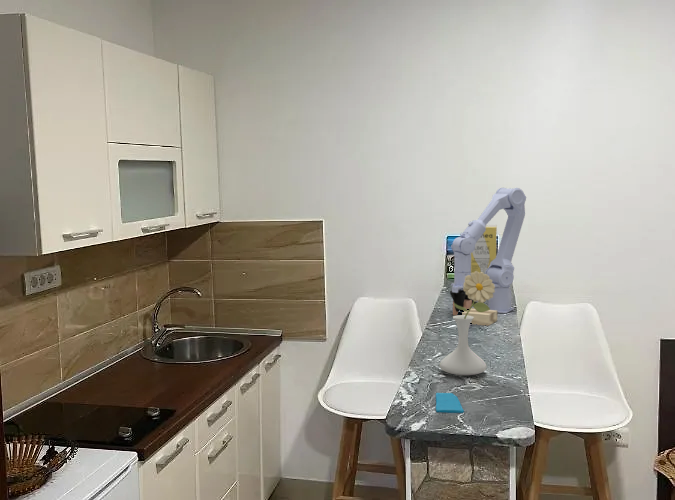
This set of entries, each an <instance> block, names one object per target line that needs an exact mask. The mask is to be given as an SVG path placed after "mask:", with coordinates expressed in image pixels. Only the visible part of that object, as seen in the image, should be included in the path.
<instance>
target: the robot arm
mask: <svg viewBox="0 0 675 500" xmlns="http://www.w3.org/2000/svg"><path fill="white" fill-rule="evenodd" d="M526 201H527V196H526V194H525V193H524V191H523V190H522V189H521V188H520V187H513V188H511V187H509V188H507V187H499V188H498V189H497V190H496V192H494V194H492V197H491V200H490V202H489V203H488V204H487V206H486V207H485V208H484V210H483V212H482V213H481V214H480V215H479V216H478V218H477V219H473V220H472V221H469V222H468V224H467V227H466V228H465V229H464V230H463V232H461V233H460V236H458V237H456V238H454V239H453V240H452V241H453V242H452V244H451V245H450V247H451V250H452V251H453V256H454V263H453V264H454V271H453V272H454V274H453V275H454V277H453V278H454V282H453V283H450V286H451V290H450V293H449V294H450V296H451V298H452V302H453V301H454V303H455V304H457V305H458V306H461V307H463V305H464V299H465V300H471V299H469V298H468V295H466V293H465V291H464V290H463V288H464V287H463V286H464V282H465V277H466V276H468V275H470V276H471V253H472V252H473V251H474V249H475V244H476V242H477V241H478V240H479V238H480V237H481V236H482V235H483V233H484V232H485V231H486V227H485V226H486V225H488V224H489V223H490V221H491V220H492V219H493V218H494V216H496V215H497V214H498V213H499V212H500V210H503V211H505V213H506V214H507V219H506V223H505V226H504V229H503V233H502V237H501V239H500V243H499V246H498V250H497V251H496V258H495V259H494V260H493V261H492V262H491V263H490V266H489V267H488V269H487V270H486V272H485V274H487V275H488V276H489V277H490V278H489V279H491V280H492V283H493V284H494V286H495V289H494V290H495V292H494V293H493V298H490V299H489V300H487V301H488V304H487V306H488V307H489V308H490V310H496V311H497V314H498V313H501V314H507V313H509V312H512V311H513V310H514V309H515V308H514V307H512V294H513V293H512V289H511V285H512V283H514V282H513V281H514V276H515V275H514V271H515V267H514V265H513V263H512V260H513V256H514V253H515V250H516V247H517V242H518V240H519V237H520V233H521V230H522V227H523V224H524V219H525V216H526V208H525V203H526ZM455 309H456V312H458V311H459V310H460V309H458V308H456V307H455Z"/></svg>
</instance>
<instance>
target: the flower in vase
mask: <svg viewBox="0 0 675 500" xmlns="http://www.w3.org/2000/svg"><path fill="white" fill-rule="evenodd" d="M489 278H490V277H489V276H488V275H487V274H484V273H483V272H480V273H479V272H477V271H475V272H474V273H471V276H470V275H468V276H466V277H465V282H464V286H463V287H464V288H463V290H464V291H465V293H466V295H468V298H469V299H472V300H473V303H472V305H471V307H470V309H469V310H468V312H467V309H466V308H464V307H461V306H458V305H457V304H455V303H454V305H455V307H456V308H458V309H460V310H463V311H466V312H467V313H466V315H453V316H452V318H453V320H454V322H455V323H456V327H457V333H458V342H457V346H456V347H455V348H454V350H453V351H451V352H450V353H449V354H447V355H446V356H445V357H443V358H442V359H441V360H440V362H439V364H438V366H439V368H440V370H442V371H444V372H445V373H448V374H452V375H456V376H475V375H478V374H481V373H483V372H485V371H486V370H487V368H488V366H487V363H486V362H485V361H484V360H483V359H482V357H480V356H478V354H476V353H475V352H474V351H473V350H472V349H471V348H470V346H469V339H468V338H469V330H470V329H469V328H470V325H471V324H470V323H471V321H472V320H473V319H474V317H473V316H468V315H467V314H468V313H469V311H470V310H471V308H475V309H476V310H477V311H478V312H485V311H488V310H490V308H489V307H488V304H486V303H485V302H486V301H488V300H489V299H490V298H493V293H494V292H495V290H494V289H495V286H494V284H493V283H492V280H491V279H489ZM474 302H477V303H476V304H474Z"/></svg>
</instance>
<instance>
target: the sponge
mask: <svg viewBox="0 0 675 500" xmlns="http://www.w3.org/2000/svg"><path fill="white" fill-rule="evenodd" d="M435 401H436V402H435V409H436V413H445V414H446V413H448V414H450V413H451V414H463V413H465V409H464V408H463V407H462V404H461V401H460V399H459V398H458V396H456V395H455V394H454V392H436V393H435Z"/></svg>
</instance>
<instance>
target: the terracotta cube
mask: <svg viewBox="0 0 675 500" xmlns="http://www.w3.org/2000/svg"><path fill="white" fill-rule="evenodd" d="M471 305H472V300H465V299H464V305H463V307H464V308H466V309H470V307H471ZM457 314H458V312H456V309H455V305H454V301H453V300H452V315H453V316H457Z"/></svg>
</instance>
